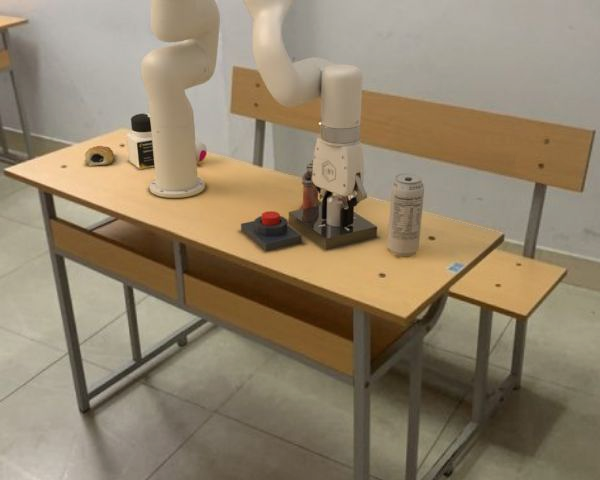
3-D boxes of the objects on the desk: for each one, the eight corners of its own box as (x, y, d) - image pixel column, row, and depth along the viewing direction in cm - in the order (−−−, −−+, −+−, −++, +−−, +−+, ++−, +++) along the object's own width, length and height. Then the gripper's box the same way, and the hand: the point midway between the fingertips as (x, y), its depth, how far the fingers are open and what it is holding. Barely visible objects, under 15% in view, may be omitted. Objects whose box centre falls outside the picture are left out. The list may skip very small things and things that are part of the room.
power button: (258, 221, 155) (258, 213, 154) (274, 218, 156) (274, 209, 156) (266, 227, 152) (266, 219, 151) (283, 224, 154) (283, 216, 153)
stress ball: (184, 180, 193) (189, 163, 187) (170, 155, 195) (175, 138, 189) (211, 173, 196) (216, 156, 191) (197, 149, 199) (202, 132, 193)
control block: (241, 231, 158) (240, 215, 156) (275, 223, 162) (275, 208, 160) (265, 251, 150) (265, 235, 148) (301, 243, 153) (301, 227, 152)
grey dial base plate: (288, 223, 162) (288, 211, 161) (337, 212, 167) (337, 200, 166) (325, 250, 151) (326, 237, 149) (376, 237, 156) (377, 225, 155)
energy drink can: (419, 246, 153) (426, 173, 145) (417, 259, 147) (423, 184, 140) (389, 242, 154) (394, 171, 146) (385, 256, 149) (390, 182, 141)
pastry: (91, 154, 199) (89, 139, 197) (117, 154, 200) (116, 139, 198) (84, 166, 191) (82, 151, 189) (112, 166, 192) (110, 151, 190)
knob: (323, 225, 155) (324, 200, 152) (330, 216, 159) (330, 192, 156) (344, 228, 154) (345, 203, 151) (350, 219, 157) (351, 195, 155)
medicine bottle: (139, 169, 190) (134, 121, 184) (128, 161, 195) (123, 114, 189) (166, 164, 193) (162, 117, 187) (155, 156, 198) (151, 109, 192)
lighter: (314, 216, 165) (315, 171, 160) (299, 214, 166) (299, 170, 161) (321, 202, 172) (322, 158, 167) (306, 200, 173) (306, 157, 168)
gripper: (295, 127, 150) (295, 214, 159) (359, 147, 139) (355, 239, 148) (322, 119, 155) (321, 204, 164) (386, 138, 144) (381, 228, 153)
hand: (337, 220), depth 156 cm, fingers closed on knob, 4 cm apart
